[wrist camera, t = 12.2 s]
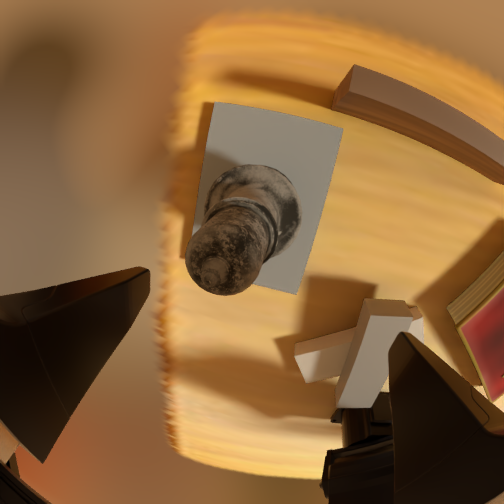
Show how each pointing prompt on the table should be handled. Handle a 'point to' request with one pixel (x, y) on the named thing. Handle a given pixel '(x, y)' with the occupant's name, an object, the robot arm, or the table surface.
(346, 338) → the bottom offcut
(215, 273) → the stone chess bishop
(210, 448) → the table surface
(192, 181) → the table surface
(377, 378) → the top offcut
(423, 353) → the robot arm
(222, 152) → the slate mat
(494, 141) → the long thin taupe batten
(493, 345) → the hardcover book
